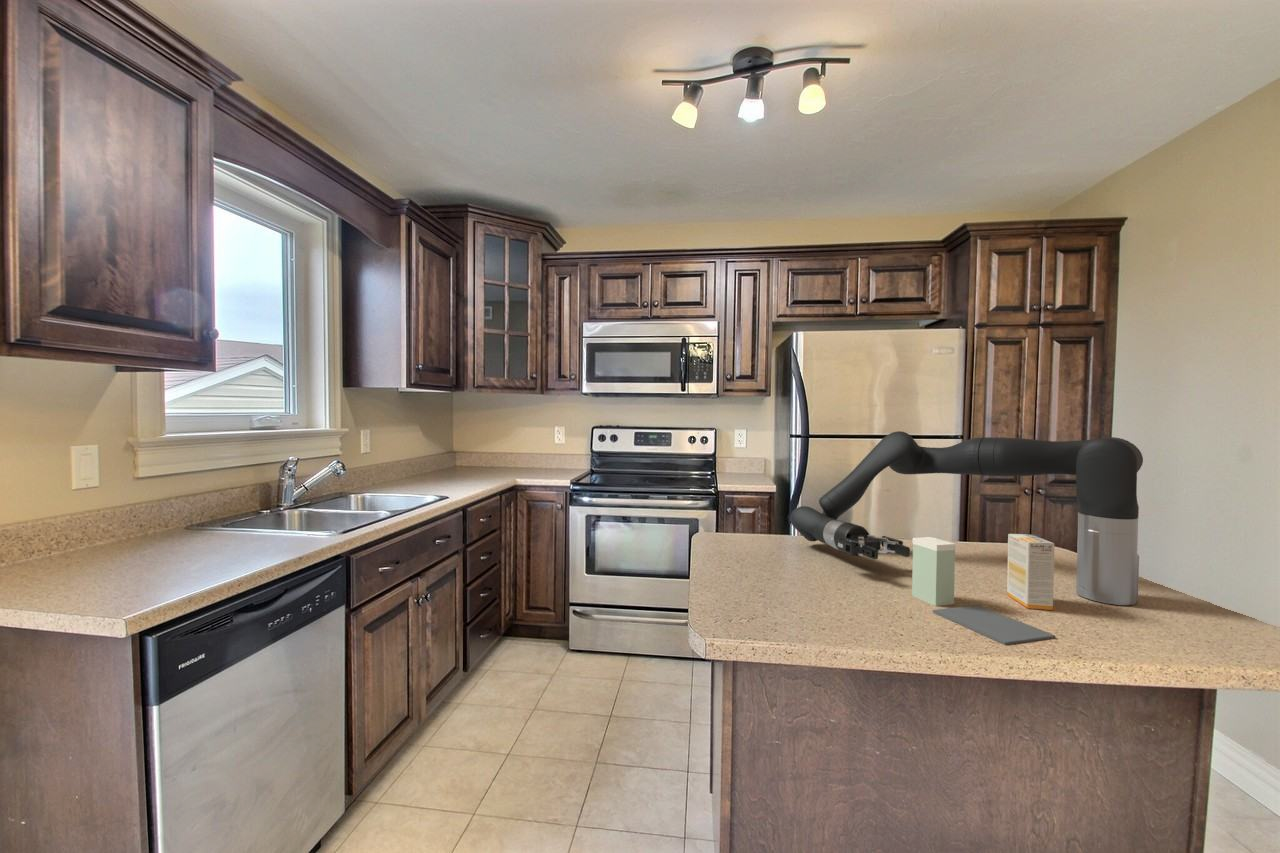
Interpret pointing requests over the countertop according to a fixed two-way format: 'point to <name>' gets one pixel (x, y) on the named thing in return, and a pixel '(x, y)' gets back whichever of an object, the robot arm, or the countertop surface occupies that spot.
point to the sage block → (933, 570)
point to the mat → (993, 624)
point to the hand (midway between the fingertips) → (892, 553)
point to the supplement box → (1030, 571)
